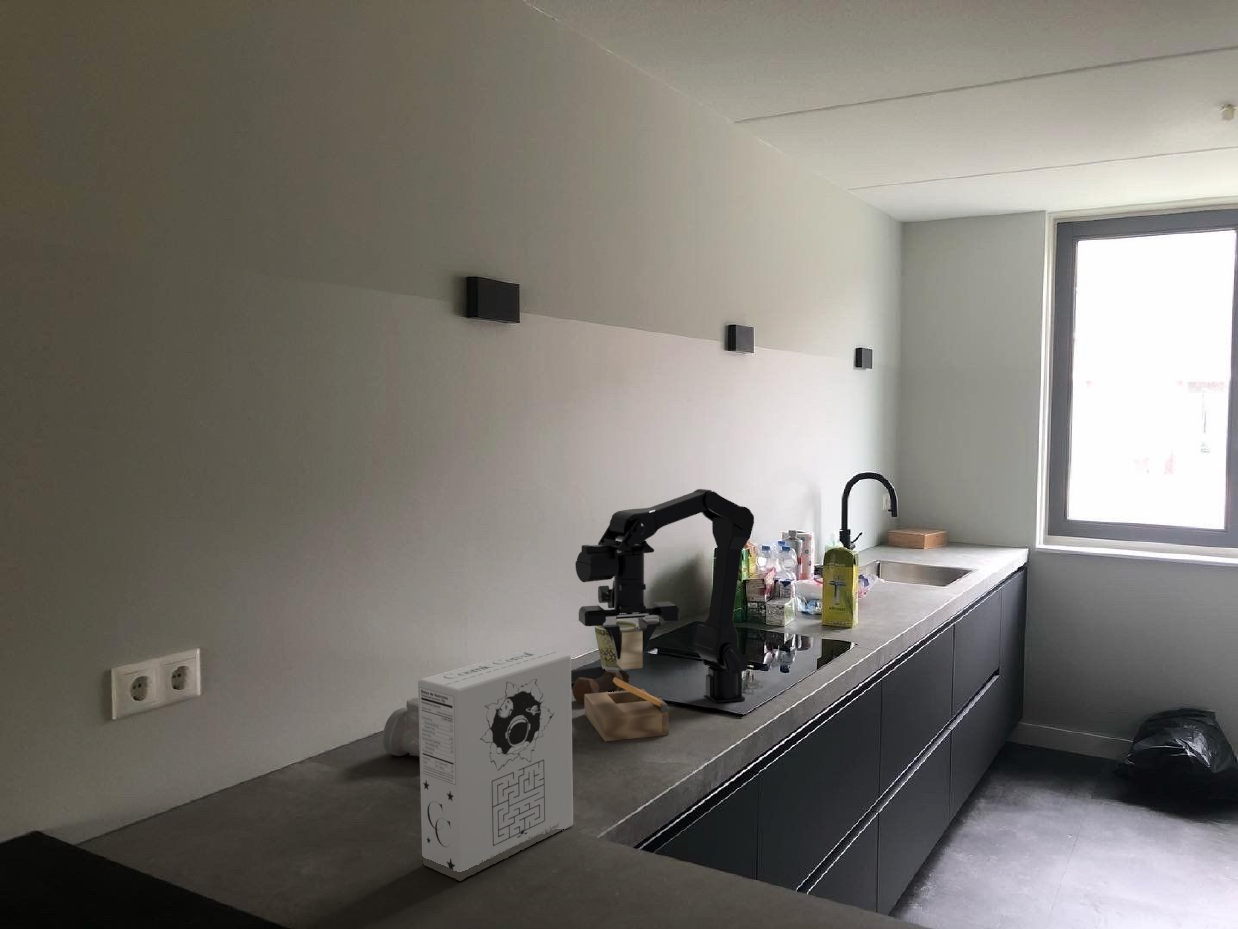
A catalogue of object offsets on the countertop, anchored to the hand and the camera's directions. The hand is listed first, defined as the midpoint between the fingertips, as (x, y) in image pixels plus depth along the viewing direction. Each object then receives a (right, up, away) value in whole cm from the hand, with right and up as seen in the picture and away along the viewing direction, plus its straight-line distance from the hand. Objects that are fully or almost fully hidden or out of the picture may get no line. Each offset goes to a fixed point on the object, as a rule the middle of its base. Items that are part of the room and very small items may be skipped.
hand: (629, 658), depth 188 cm
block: (-1, -12, -3) cm, 12 cm away
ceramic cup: (-2, -10, +35) cm, 37 cm away
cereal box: (-18, -16, -53) cm, 58 cm away
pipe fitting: (-36, -14, -20) cm, 43 cm away
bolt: (-5, -11, +16) cm, 21 cm away
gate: (+2, -6, -7) cm, 9 cm away
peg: (0, -2, 0) cm, 2 cm away
